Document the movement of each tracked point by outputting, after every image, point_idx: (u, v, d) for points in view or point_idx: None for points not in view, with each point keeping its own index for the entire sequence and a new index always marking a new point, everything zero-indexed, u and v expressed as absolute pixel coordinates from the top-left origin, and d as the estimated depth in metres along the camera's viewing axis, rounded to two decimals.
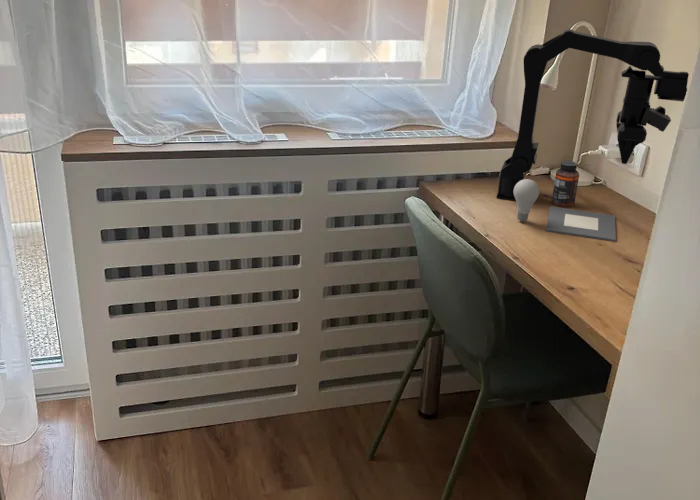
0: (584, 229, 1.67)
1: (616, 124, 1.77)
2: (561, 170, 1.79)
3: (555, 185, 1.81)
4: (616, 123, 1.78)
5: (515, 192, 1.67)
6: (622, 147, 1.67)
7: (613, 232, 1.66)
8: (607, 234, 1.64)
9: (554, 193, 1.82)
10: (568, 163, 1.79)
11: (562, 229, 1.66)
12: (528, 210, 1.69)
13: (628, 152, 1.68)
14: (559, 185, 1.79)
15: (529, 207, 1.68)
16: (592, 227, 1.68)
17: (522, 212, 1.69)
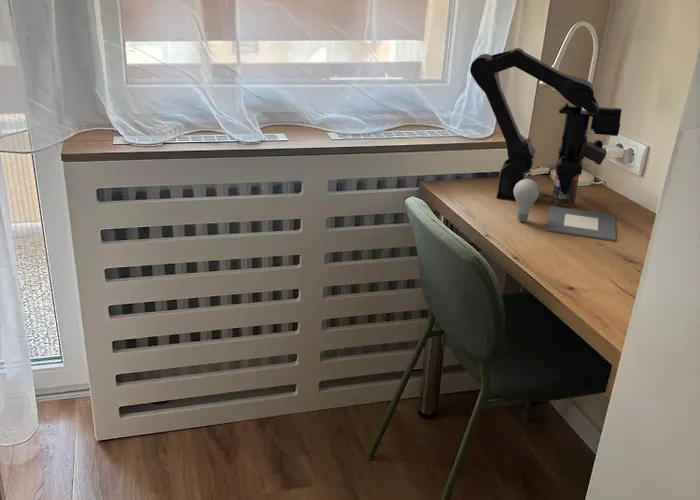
0: (584, 229, 1.67)
1: (558, 157, 1.84)
2: None
3: (555, 185, 1.81)
4: None
5: (515, 192, 1.67)
6: (561, 178, 1.76)
7: (613, 232, 1.66)
8: (607, 234, 1.64)
9: (554, 193, 1.82)
10: None
11: (562, 229, 1.66)
12: (528, 210, 1.69)
13: (567, 182, 1.77)
14: (559, 184, 1.79)
15: (529, 207, 1.68)
16: (592, 227, 1.68)
17: (522, 212, 1.69)
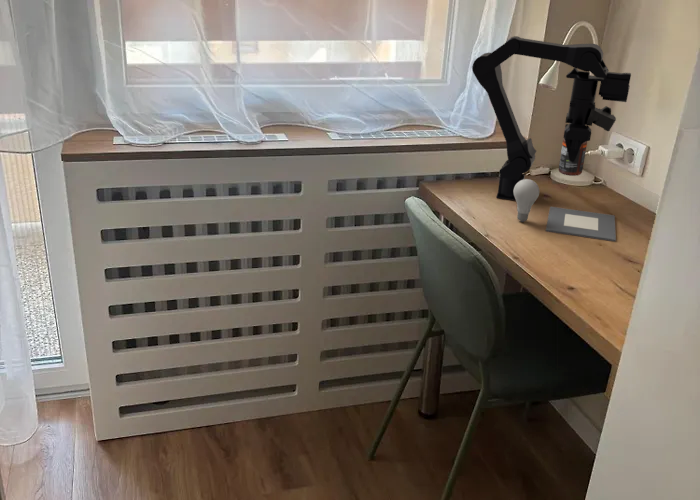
0: (584, 229, 1.67)
1: (565, 126, 1.79)
2: None
3: (562, 153, 1.76)
4: (565, 125, 1.79)
5: (515, 192, 1.67)
6: (569, 145, 1.71)
7: (613, 232, 1.66)
8: (607, 234, 1.64)
9: (561, 162, 1.77)
10: None
11: (562, 229, 1.66)
12: (528, 210, 1.69)
13: (575, 150, 1.72)
14: (566, 153, 1.75)
15: (529, 207, 1.68)
16: (592, 227, 1.68)
17: (522, 212, 1.69)
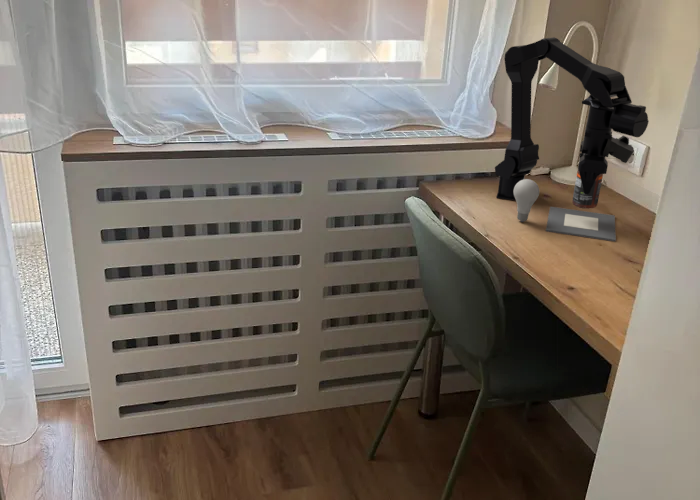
0: (584, 229, 1.67)
1: None
2: None
3: (576, 185, 1.66)
4: None
5: (515, 192, 1.67)
6: (584, 177, 1.62)
7: (613, 232, 1.66)
8: (607, 234, 1.64)
9: (575, 194, 1.67)
10: None
11: (562, 229, 1.66)
12: (528, 210, 1.69)
13: (589, 182, 1.62)
14: (581, 185, 1.65)
15: (529, 207, 1.68)
16: (592, 227, 1.68)
17: (522, 212, 1.69)
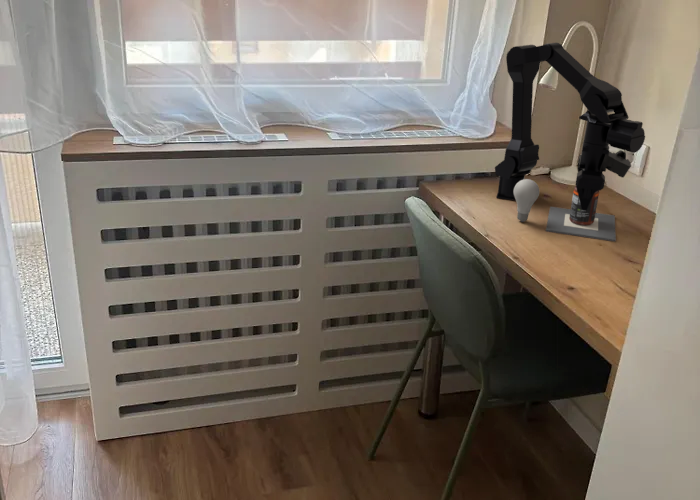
0: (584, 229, 1.67)
1: None
2: None
3: (573, 202, 1.68)
4: None
5: (515, 192, 1.67)
6: (581, 194, 1.62)
7: (613, 232, 1.66)
8: (607, 234, 1.64)
9: (572, 210, 1.69)
10: None
11: (562, 229, 1.66)
12: (528, 210, 1.69)
13: (587, 198, 1.62)
14: (577, 202, 1.67)
15: (529, 207, 1.68)
16: (592, 227, 1.68)
17: (522, 212, 1.69)
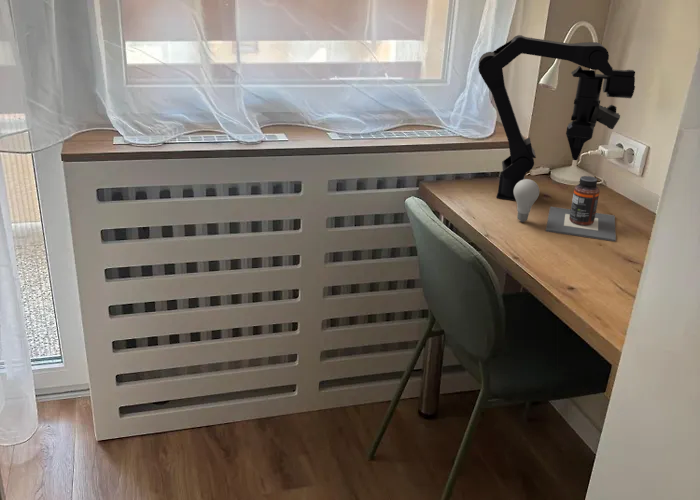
0: (584, 229, 1.67)
1: None
2: (580, 186, 1.66)
3: (573, 202, 1.68)
4: (572, 121, 1.83)
5: (515, 192, 1.67)
6: (572, 144, 1.73)
7: (613, 232, 1.66)
8: (607, 234, 1.64)
9: (572, 210, 1.69)
10: (587, 178, 1.66)
11: (562, 229, 1.66)
12: (528, 210, 1.69)
13: (577, 148, 1.73)
14: (578, 202, 1.67)
15: (529, 207, 1.68)
16: (592, 227, 1.68)
17: (522, 212, 1.69)
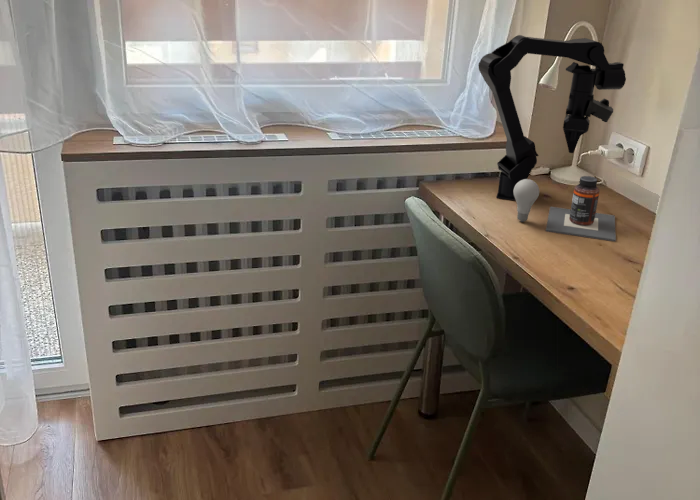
0: (584, 229, 1.67)
1: (565, 116, 1.88)
2: (580, 186, 1.66)
3: (573, 202, 1.68)
4: None
5: (515, 192, 1.67)
6: (568, 137, 1.78)
7: (613, 232, 1.66)
8: (607, 234, 1.64)
9: (572, 210, 1.69)
10: (587, 178, 1.66)
11: (562, 229, 1.66)
12: (528, 210, 1.69)
13: (574, 141, 1.79)
14: (577, 202, 1.67)
15: (529, 207, 1.68)
16: (592, 227, 1.68)
17: (522, 212, 1.69)
